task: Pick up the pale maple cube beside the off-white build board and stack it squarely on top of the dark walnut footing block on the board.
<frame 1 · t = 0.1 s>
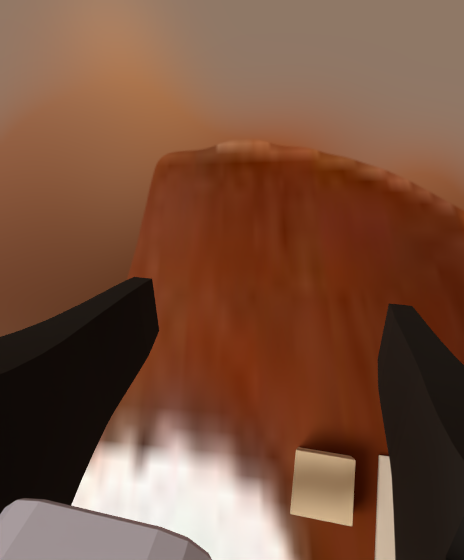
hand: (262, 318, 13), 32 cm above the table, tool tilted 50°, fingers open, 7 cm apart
maple cube: (321, 479, 40), on the table
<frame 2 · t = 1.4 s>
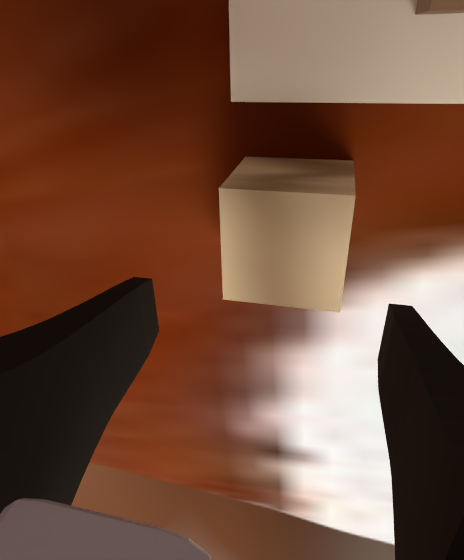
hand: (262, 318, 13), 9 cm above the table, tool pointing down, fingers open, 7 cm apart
maple cube: (295, 208, 21), on the table
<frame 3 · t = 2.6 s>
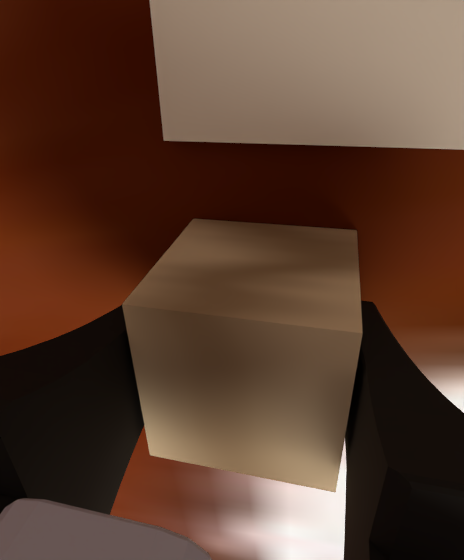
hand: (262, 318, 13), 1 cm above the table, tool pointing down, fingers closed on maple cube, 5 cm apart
maple cube: (269, 293, 14), on the table, touching gripper
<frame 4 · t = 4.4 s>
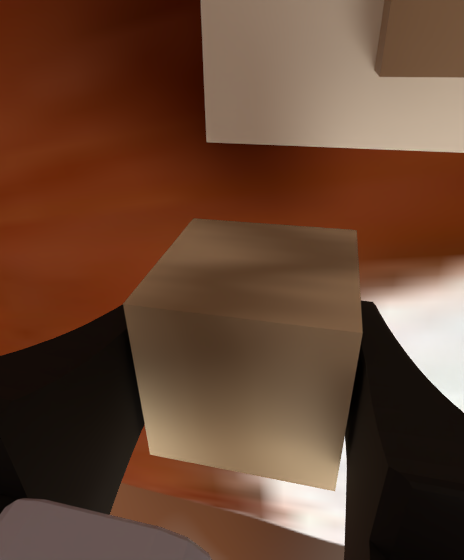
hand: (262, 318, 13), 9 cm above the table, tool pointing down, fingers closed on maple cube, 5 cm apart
maple cube: (269, 293, 14), point 8 cm above the table, touching gripper
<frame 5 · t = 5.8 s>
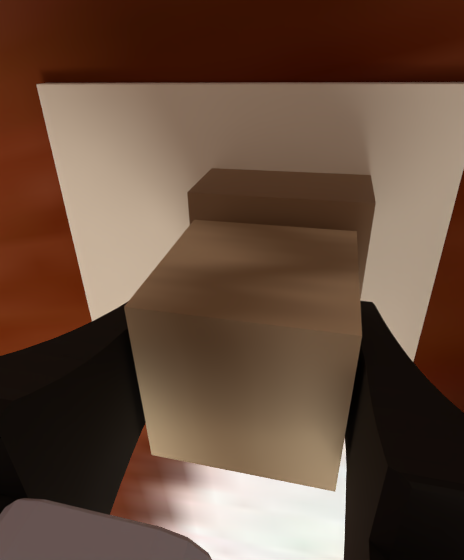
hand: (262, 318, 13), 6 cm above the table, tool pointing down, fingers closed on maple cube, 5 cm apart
maple cube: (270, 294, 14), point 4 cm above the table, touching gripper
build board: (240, 234, 18), on the table
when the fingers open (6 cm above the table, at t = 6.6 s): maple cube stays where it is, resting on build board.
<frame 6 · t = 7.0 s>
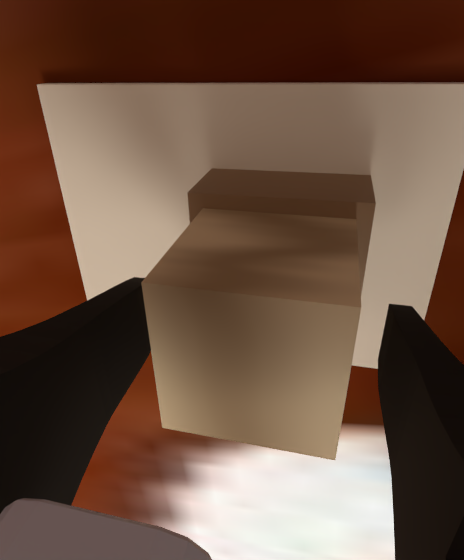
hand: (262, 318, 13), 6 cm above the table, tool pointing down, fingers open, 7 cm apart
maple cube: (273, 280, 15), point 4 cm above the table, touching build board
build board: (240, 234, 18), on the table
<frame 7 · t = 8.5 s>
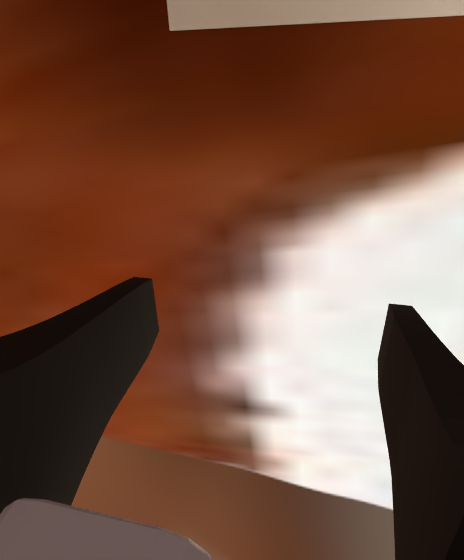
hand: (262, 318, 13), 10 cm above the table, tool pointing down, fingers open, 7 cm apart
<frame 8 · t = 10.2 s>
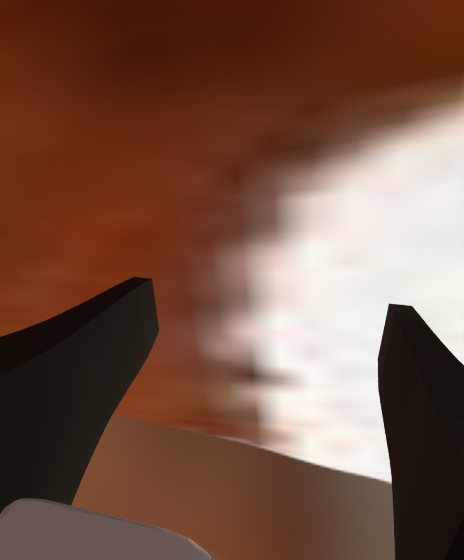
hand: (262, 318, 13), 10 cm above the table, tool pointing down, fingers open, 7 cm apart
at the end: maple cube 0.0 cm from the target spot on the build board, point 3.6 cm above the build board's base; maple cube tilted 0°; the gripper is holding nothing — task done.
